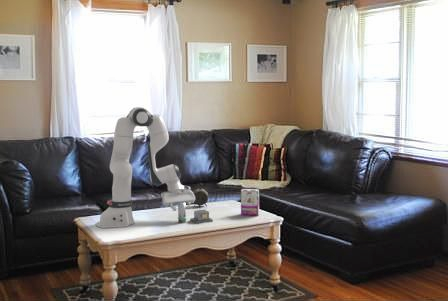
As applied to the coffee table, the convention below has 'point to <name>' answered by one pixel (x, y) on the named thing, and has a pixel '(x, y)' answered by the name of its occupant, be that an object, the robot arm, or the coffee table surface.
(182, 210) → the column
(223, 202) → the coffee table surface
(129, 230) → the coffee table surface
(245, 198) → the candy bar box
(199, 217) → the stand
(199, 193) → the alarm clock
